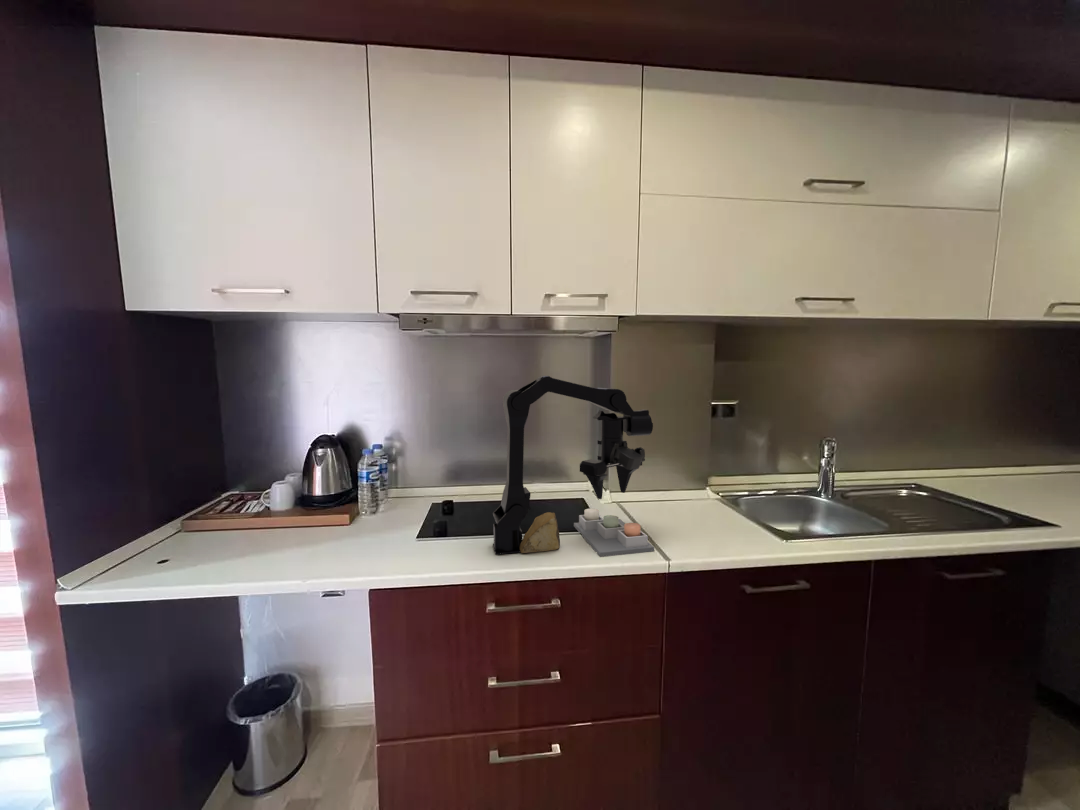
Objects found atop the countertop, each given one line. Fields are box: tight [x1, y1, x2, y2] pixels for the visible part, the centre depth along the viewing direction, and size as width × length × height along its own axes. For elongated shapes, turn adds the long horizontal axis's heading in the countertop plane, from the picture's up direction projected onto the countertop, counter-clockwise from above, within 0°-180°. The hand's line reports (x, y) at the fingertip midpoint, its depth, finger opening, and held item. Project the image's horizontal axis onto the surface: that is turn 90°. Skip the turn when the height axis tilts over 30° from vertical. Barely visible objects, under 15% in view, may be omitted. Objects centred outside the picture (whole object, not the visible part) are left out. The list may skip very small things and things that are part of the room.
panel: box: [573, 514, 655, 558], centre depth 121 cm, size 14×22×4 cm, turn 12°
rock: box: [519, 511, 561, 554], centre depth 114 cm, size 11×9×10 cm
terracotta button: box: [624, 522, 642, 537], centre depth 114 cm, size 4×4×3 cm
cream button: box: [583, 507, 600, 521], centre depth 127 cm, size 4×4×3 cm
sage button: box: [602, 514, 620, 529], centre depth 120 cm, size 4×4×3 cm
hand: (611, 495), depth 119 cm, fingers open, 9 cm apart
